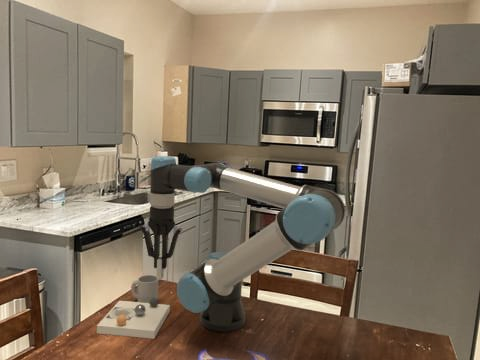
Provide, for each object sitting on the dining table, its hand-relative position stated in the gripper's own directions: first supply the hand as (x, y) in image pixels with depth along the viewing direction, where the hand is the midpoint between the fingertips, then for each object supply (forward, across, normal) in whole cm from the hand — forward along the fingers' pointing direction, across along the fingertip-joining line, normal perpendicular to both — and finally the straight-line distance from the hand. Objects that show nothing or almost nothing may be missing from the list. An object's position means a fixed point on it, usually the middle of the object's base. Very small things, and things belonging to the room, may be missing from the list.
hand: (160, 277), depth 130 cm
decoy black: (+12, +4, -7) cm, 14 cm away
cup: (+16, +10, -15) cm, 24 cm away
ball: (+12, +6, 0) cm, 13 cm away
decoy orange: (+12, +10, +7) cm, 17 cm away
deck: (+16, +8, 0) cm, 18 cm away
